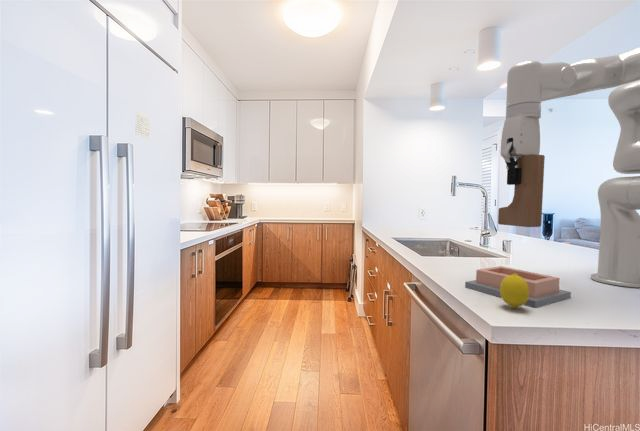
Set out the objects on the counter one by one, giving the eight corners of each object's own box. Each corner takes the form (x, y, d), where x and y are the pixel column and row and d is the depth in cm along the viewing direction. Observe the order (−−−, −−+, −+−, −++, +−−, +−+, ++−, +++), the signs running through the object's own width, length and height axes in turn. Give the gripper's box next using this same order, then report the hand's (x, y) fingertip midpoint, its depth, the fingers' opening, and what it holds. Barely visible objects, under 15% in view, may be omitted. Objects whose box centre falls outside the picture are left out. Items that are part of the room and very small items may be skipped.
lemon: (494, 303, 71) (496, 270, 71) (519, 304, 71) (521, 271, 70) (506, 312, 66) (508, 276, 65) (533, 313, 65) (535, 277, 65)
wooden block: (497, 224, 83) (500, 158, 82) (509, 224, 84) (512, 159, 83) (528, 227, 74) (532, 153, 73) (541, 227, 76) (545, 154, 75)
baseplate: (500, 280, 92) (500, 264, 92) (570, 297, 76) (571, 278, 76) (465, 287, 85) (465, 269, 84) (535, 307, 69) (536, 286, 68)
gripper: (526, 121, 85) (523, 186, 86) (488, 113, 77) (485, 184, 78) (556, 114, 78) (553, 185, 79) (518, 105, 71) (515, 183, 72)
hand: (519, 184), depth 79 cm, fingers closed on wooden block, 4 cm apart
